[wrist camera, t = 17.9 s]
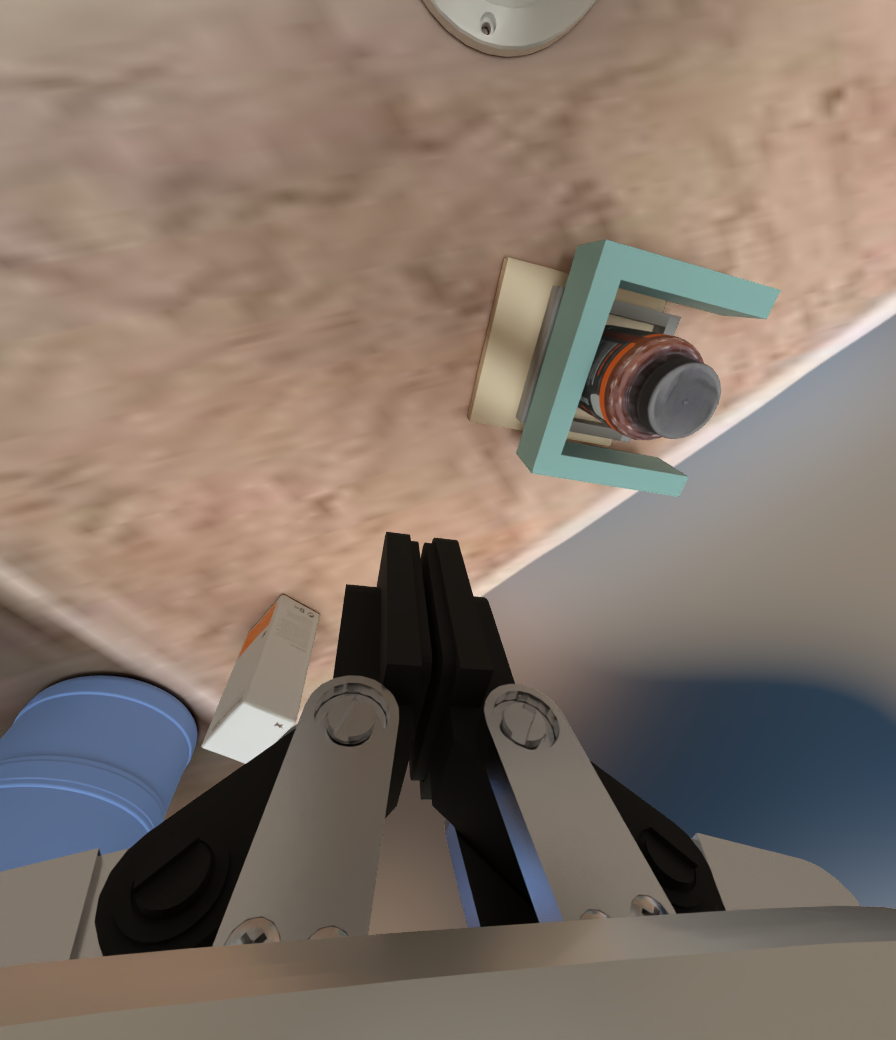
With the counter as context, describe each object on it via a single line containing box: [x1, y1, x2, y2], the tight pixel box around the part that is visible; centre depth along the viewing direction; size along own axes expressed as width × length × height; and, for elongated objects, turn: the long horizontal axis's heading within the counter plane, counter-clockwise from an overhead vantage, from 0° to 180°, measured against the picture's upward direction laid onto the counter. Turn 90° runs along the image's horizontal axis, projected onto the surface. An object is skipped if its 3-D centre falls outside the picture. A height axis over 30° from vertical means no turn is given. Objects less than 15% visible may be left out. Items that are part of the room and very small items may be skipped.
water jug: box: [0, 675, 197, 872], centre depth 33 cm, size 16×16×28 cm
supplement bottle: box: [578, 325, 721, 440], centre depth 27 cm, size 6×6×11 cm
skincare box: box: [201, 595, 320, 764], centre depth 36 cm, size 6×4×12 cm
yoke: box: [516, 240, 781, 497], centre depth 29 cm, size 14×12×4 cm
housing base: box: [467, 257, 681, 447], centre depth 32 cm, size 11×12×3 cm
